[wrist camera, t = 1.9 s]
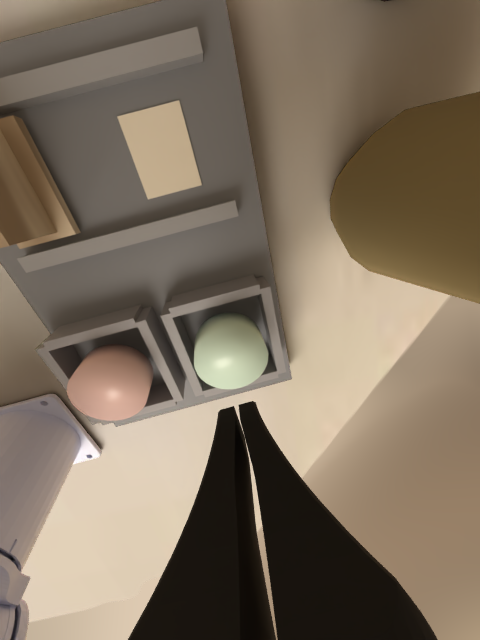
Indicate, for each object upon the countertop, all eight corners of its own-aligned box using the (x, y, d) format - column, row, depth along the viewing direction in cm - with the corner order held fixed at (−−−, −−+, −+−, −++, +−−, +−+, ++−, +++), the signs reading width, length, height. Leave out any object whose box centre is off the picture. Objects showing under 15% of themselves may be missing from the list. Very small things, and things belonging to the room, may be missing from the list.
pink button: (102, 404, 18) (91, 428, 16) (67, 354, 15) (50, 376, 14) (163, 387, 18) (158, 409, 16) (137, 336, 15) (128, 354, 14)
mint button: (206, 376, 18) (206, 397, 16) (185, 323, 15) (183, 340, 14) (266, 359, 18) (273, 378, 16) (254, 304, 16) (260, 319, 14)
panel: (121, 412, 22) (107, 449, 19) (-93, 89, 12) (-201, 52, 8) (286, 367, 22) (300, 396, 19) (220, 7, 12) (227, -59, 9)
